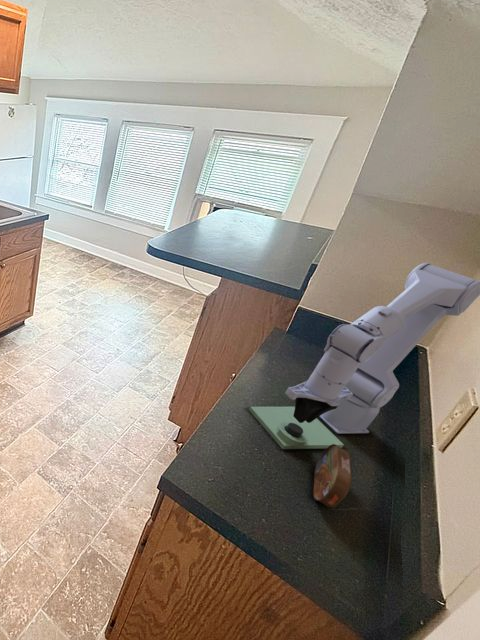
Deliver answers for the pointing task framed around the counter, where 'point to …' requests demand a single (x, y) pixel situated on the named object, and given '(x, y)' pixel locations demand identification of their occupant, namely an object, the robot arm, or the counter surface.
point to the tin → (332, 476)
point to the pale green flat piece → (282, 416)
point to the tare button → (294, 430)
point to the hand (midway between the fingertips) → (301, 419)
